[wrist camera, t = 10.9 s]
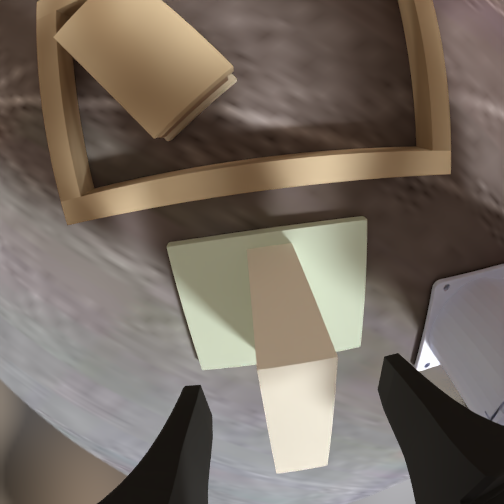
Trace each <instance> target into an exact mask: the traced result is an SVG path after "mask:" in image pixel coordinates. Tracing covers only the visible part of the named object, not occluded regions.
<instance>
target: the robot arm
mask: <svg viewBox="0 0 504 504" xmlns="http://www.w3.org/2000/svg"><path fill="white" fill-rule="evenodd" d="M445 285H446V286H445ZM444 286H445V287H444ZM440 364H441V366H442V367H443V369H444V370H445V372H446V373H447V375H448V376H449V378H450V379H451V381H452V383H453V384H454V386H455V387H456V389H457V390H458V392H459V393H460V395H461V397H462V398H463V400H464V401H465V403H466V405H467V406H468V408H469V409H468V408H466V407H464V406H463V405H461V404H460V403H458V402H456V401H455V400H454V399H452V398H451V397H449V396H448V395H447V394H445V393H444V392H443V391H441V390H440V389H439V388H438V387H436V386H435V385H434V384H433V383H432V382H430V381H429V380H428V379H427V378H426V377H424V376H423V375H422V374H421V373H420V372H419V371H422V370H425V369H428V368H431V367H434V366H437V365H440ZM414 367H415V368H414ZM414 367H413V366H412V365H411V364H410V363H409V362H407V361H406V360H405V359H404V358H403V357H402V356H401V355H399V354H398V353H397V354H393V355H389V356H385V357H384V361H383V366H382V371H381V376H380V381H379V386H378V392H379V396H380V399H381V402H382V406H383V409H384V411H385V414H386V416H387V418H388V421H389V423H390V425H391V427H392V430H393V432H394V434H395V436H396V438H397V441H398V443H399V445H400V448H401V450H402V452H403V455H404V458H405V461H406V464H407V468H408V471H409V475H410V479H411V483H412V488H413V492H414V497H415V502H416V504H504V264H500V265H497V266H493V267H489V268H485V269H481V270H477V271H473V272H469V273H465V274H461V275H457V276H453V277H448V278H444V279H440V280H437V281H436V282H435V283H434V284H433V287H432V292H431V297H430V303H429V308H428V313H427V317H426V322H425V327H424V331H423V335H422V339H421V343H420V347H419V351H418V355H417V359H416V362H415V366H414ZM212 439H213V431H212V414H211V411H210V409H209V406H208V403H207V401H206V398H205V396H204V393H203V390H202V387H201V385H193V386H185V387H184V388H183V390H182V392H181V394H180V397H179V399H178V401H177V403H176V405H175V407H174V409H173V411H172V413H171V415H170V416H169V418H168V420H167V422H166V423H165V425H164V427H163V429H162V430H161V432H160V434H159V435H158V437H157V438H156V440H155V441H154V443H153V445H152V446H151V448H150V449H149V450H148V452H147V453H146V455H145V456H144V457H143V459H142V460H141V461H140V462H139V464H138V465H137V466H136V467H135V468H134V470H133V471H132V472H131V473H130V474H129V475H128V476H127V477H126V478H125V479H124V480H123V482H122V483H121V484H120V485H118V486H117V488H115V489H114V490H113V491H112V492H111V493H110V494H109V495H107V496H106V497H105V498H104V499H103V500H101V501H100V502H99V503H97V504H208V479H209V469H210V459H211V449H212Z"/></svg>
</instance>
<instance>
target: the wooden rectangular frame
mask: <svg viewBox="0 0 504 504" xmlns="http://www.w3.org/2000/svg"><path fill="white" fill-rule="evenodd" d="M86 1H87V0H40V1H38V2H37V13H36V37H37V61H38V75H39V86H40V95H41V104H42V111H43V118H44V125H45V131H46V137H47V142H48V148H49V153H50V158H51V163H52V167H53V172H54V176H55V180H56V185H57V189H58V193H59V197H60V200H61V204H62V208H63V211H64V215H65V218H66V222H67V225H71V224H75V223H80V222H85V221H89V220H94V219H99V218H103V217H108V216H113V215H118V214H123V213H128V212H133V211H139V210H144V209H149V208H155V207H160V206H166V205H172V204H177V203H183V202H189V201H195V200H202V199H208V198H214V197H221V196H228V195H234V194H241V193H249V192H256V191H263V190H271V189H279V188H287V187H295V186H304V185H313V184H323V183H332V182H343V181H353V180H365V179H377V178H390V177H405V176H422V175H442V174H451V129H450V110H449V97H448V86H447V77H446V69H445V62H444V55H443V49H442V43H441V37H440V32H439V27H438V22H437V18H436V13H435V9H434V5H433V1H432V0H398V4H399V9H400V13H401V18H402V23H403V28H404V33H405V39H406V45H407V51H408V57H409V64H410V72H411V80H412V89H413V99H414V111H415V126H416V147H380V148H359V149H343V150H330V151H317V152H306V153H296V154H287V155H278V156H269V157H261V158H253V159H246V160H239V161H232V162H225V163H218V164H212V165H206V166H200V167H194V168H188V169H183V170H177V171H172V172H167V173H162V174H157V175H152V176H147V177H142V178H137V179H133V180H128V181H124V182H120V183H115V184H111V185H107V186H103V187H98V188H94V185H93V181H92V176H91V172H90V167H89V163H88V158H87V153H86V148H85V143H84V137H83V132H82V126H81V120H80V113H79V106H78V99H77V92H76V84H75V74H74V64H73V56H72V55H71V54H70V53H69V52H68V51H67V50H66V49H65V48H64V47H63V46H62V45H61V44H60V43H59V42H58V41H57V40H56V39H55V38H54V36H55V35H56V34H57V32H58V31H59V30H60V29H61V28H62V27H63V25H64V24H65V23H66V22H67V21H68V20H69V19H70V18H71V17H72V16H73V15H74V13H75V12H76V11H77V10H78V9H79V8H80V7H81V6H82V5H83V4H84V3H85V2H86Z"/></svg>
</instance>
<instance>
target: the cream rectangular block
mask: <svg viewBox="0 0 504 504" xmlns="http://www.w3.org/2000/svg"><path fill="white" fill-rule="evenodd" d="M247 258H248V270H249V282H250V294H251V306H252V317H253V329H254V341H255V352H256V363H257V372H258V378H259V383H260V389H261V394H262V400H263V405H264V410H265V416H266V421H267V426H268V432H269V437H270V442H271V447H272V452H273V458H274V463H275V468H276V473H277V474H278V473H285V472H292V471H299V470H305V469H311V468H316V467H321V466H326V465H327V464H328V456H329V449H330V440H331V432H332V422H333V412H334V401H335V389H336V376H337V360H338V356H337V354H336V351H335V349H334V346H333V343H332V341H331V338H330V336H329V333H328V330H327V328H326V325H325V323H324V320H323V318H322V315H321V313H320V310H319V308H318V305H317V303H316V300H315V298H314V295H313V293H312V290H311V288H310V285H309V283H308V281H307V278H306V276H305V273H304V271H303V268H302V266H301V264H300V261H299V259H298V256H297V254H296V252H295V249H294V247H293V245H292V243H287V244H280V245H273V246H266V247H258V248H251V249H247Z"/></svg>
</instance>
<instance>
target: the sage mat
mask: <svg viewBox="0 0 504 504" xmlns="http://www.w3.org/2000/svg"><path fill="white" fill-rule="evenodd" d="M287 243H292V245H293V247H294V249H295V252H296V254H297V256H298V259H299V261H300V264H301V266H302V268H303V271H304V273H305V276H306V278H307V281H308V283H309V285H310V288H311V290H312V293H313V295H314V298H315V300H316V303H317V305H318V308H319V310H320V313H321V315H322V318H323V320H324V323H325V325H326V328H327V330H328V333H329V336H330V338H331V341H332V343H333V346H334V349H335V351H336V352H337V351H342V350H347V349H352V348H357V347H360V345H361V335H362V324H363V313H364V299H365V282H366V260H367V219H366V218H365V217H364V216H358V217H350V218H342V219H334V220H326V221H318V222H310V223H302V224H295V225H287V226H280V227H272V228H265V229H258V230H250V231H243V232H236V233H229V234H222V235H215V236H208V237H201V238H195V239H188V240H181V241H175V242H169V243H168V245H167V251H168V255H169V259H170V263H171V267H172V271H173V274H174V278H175V282H176V285H177V289H178V293H179V296H180V300H181V303H182V307H183V310H184V313H185V317H186V320H187V324H188V327H189V330H190V333H191V337H192V340H193V343H194V346H195V349H196V352H197V355H198V359H199V362H200V365H201V368H202V370H209V369H220V368H230V367H239V366H248V365H256V364H257V363H256V352H255V341H254V329H253V317H252V306H251V294H250V282H249V270H248V258H247V249H251V248H258V247H266V246H273V245H280V244H287Z"/></svg>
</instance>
